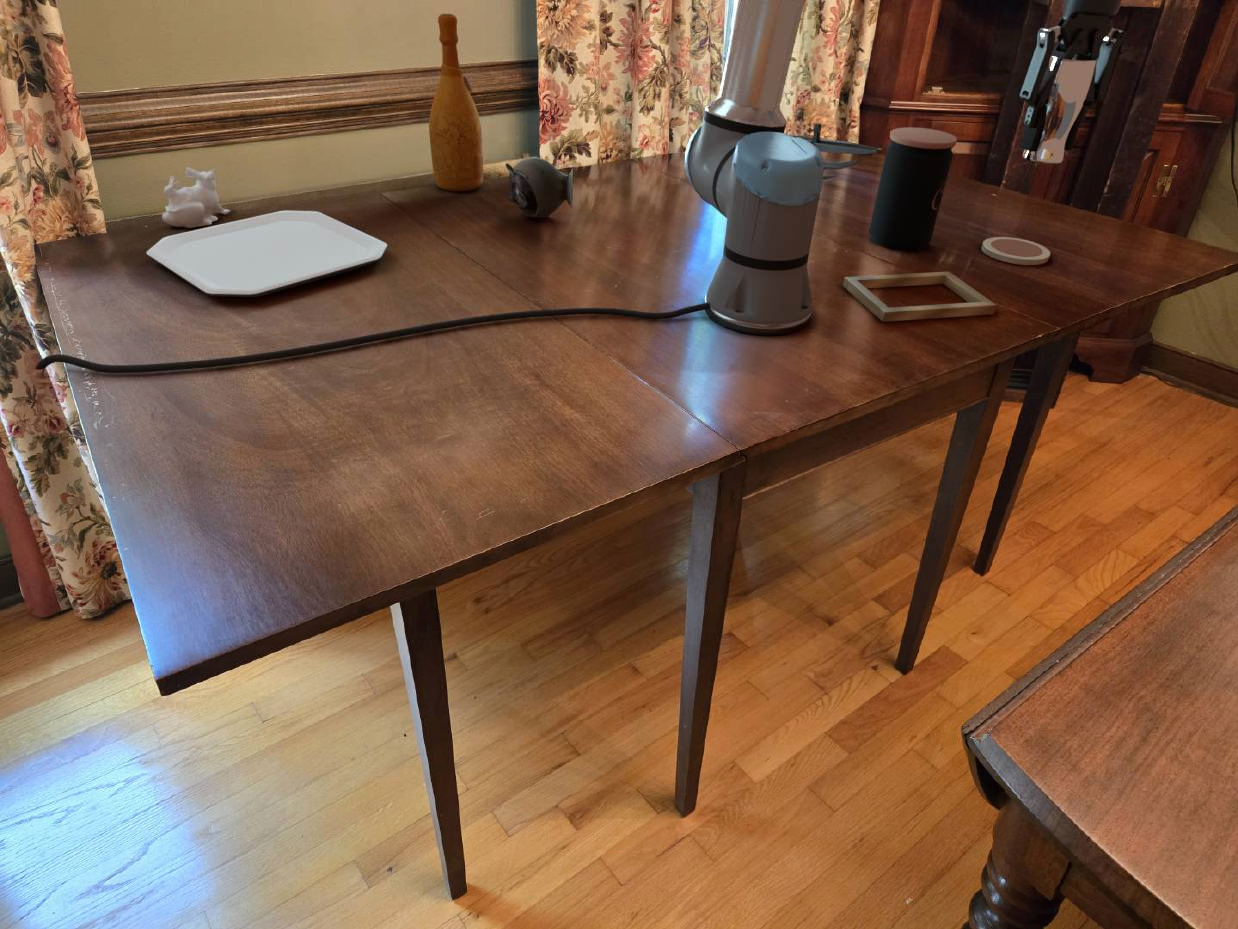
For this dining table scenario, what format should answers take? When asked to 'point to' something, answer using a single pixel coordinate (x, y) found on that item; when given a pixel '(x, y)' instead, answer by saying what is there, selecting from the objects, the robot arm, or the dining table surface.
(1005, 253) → the trivet
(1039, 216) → the dining table surface
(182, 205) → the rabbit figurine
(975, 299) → the picture frame
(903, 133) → the coffee jar
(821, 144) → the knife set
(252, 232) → the plate
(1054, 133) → the beer glass
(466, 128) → the wine bottle
